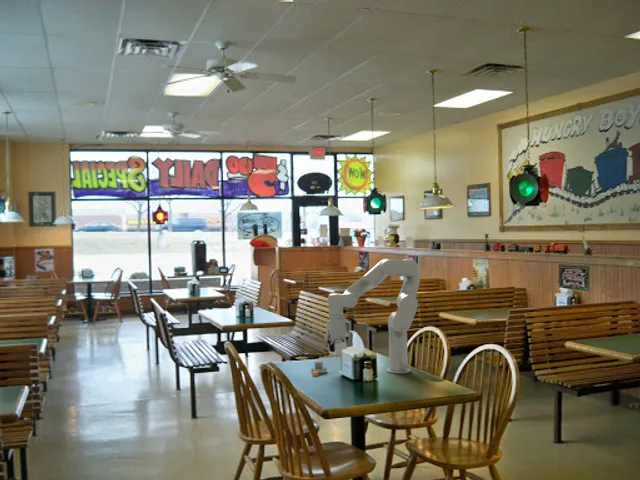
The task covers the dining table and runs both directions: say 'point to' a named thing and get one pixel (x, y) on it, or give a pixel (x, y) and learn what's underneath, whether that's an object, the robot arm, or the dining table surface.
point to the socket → (338, 346)
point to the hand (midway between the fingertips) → (337, 350)
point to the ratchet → (318, 369)
